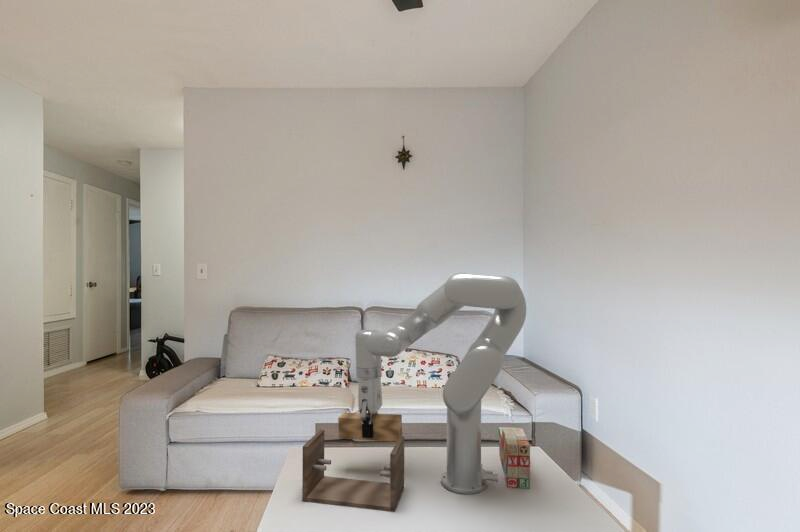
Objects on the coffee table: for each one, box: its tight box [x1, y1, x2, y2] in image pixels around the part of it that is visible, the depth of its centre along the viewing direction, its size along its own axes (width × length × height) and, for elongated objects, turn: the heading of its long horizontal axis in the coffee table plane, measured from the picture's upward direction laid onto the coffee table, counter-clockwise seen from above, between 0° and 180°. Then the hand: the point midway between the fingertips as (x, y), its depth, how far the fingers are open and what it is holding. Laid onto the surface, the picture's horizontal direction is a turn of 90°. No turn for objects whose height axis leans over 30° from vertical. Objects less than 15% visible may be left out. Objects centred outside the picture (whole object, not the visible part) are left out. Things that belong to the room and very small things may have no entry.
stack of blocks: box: [498, 426, 531, 490], centre depth 128 cm, size 21×6×12 cm, turn 173°
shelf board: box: [337, 412, 403, 442], centre depth 127 cm, size 18×5×6 cm, turn 78°
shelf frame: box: [301, 429, 405, 512], centre depth 115 cm, size 24×12×14 cm, turn 78°
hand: (370, 433), depth 127 cm, fingers closed on shelf board, 5 cm apart
